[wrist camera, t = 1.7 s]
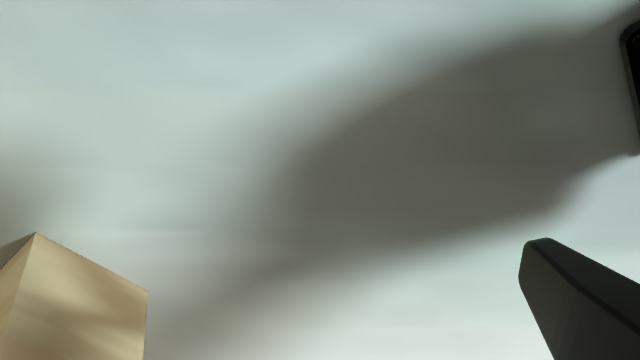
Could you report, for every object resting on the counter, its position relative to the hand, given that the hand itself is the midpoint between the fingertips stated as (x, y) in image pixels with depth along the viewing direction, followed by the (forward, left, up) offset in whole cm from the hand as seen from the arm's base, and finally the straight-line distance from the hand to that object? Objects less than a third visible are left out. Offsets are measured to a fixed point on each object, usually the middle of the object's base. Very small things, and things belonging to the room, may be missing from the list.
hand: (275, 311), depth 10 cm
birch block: (-5, +12, -12) cm, 17 cm away
